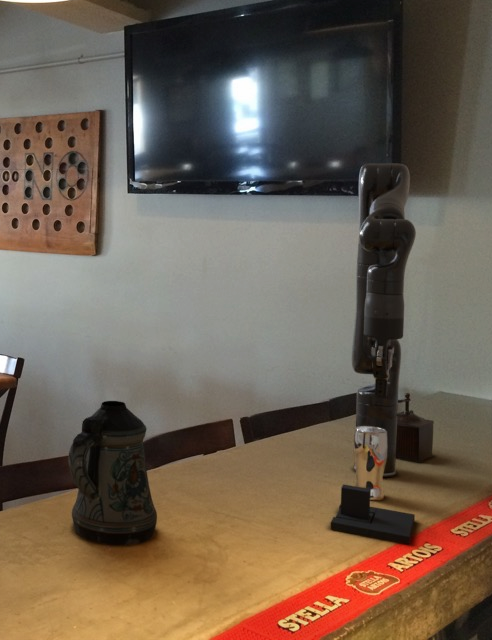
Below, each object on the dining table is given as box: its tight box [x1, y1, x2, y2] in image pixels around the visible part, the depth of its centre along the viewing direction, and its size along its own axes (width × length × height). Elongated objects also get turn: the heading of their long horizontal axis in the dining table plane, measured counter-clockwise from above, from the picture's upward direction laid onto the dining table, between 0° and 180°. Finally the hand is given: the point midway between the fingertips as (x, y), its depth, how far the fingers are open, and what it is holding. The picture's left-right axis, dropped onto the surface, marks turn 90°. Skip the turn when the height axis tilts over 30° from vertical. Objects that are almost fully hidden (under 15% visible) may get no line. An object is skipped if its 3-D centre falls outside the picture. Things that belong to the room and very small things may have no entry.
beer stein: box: [67, 400, 158, 546], centre depth 156 cm, size 16×19×25 cm
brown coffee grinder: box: [396, 392, 435, 463], centre depth 215 cm, size 16×11×18 cm
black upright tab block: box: [335, 484, 374, 524], centre depth 164 cm, size 6×6×7 cm
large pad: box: [330, 503, 416, 545], centre depth 162 cm, size 14×14×2 cm
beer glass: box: [352, 426, 388, 501], centre depth 180 cm, size 7×7×15 cm
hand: (380, 396), depth 169 cm, fingers closed
